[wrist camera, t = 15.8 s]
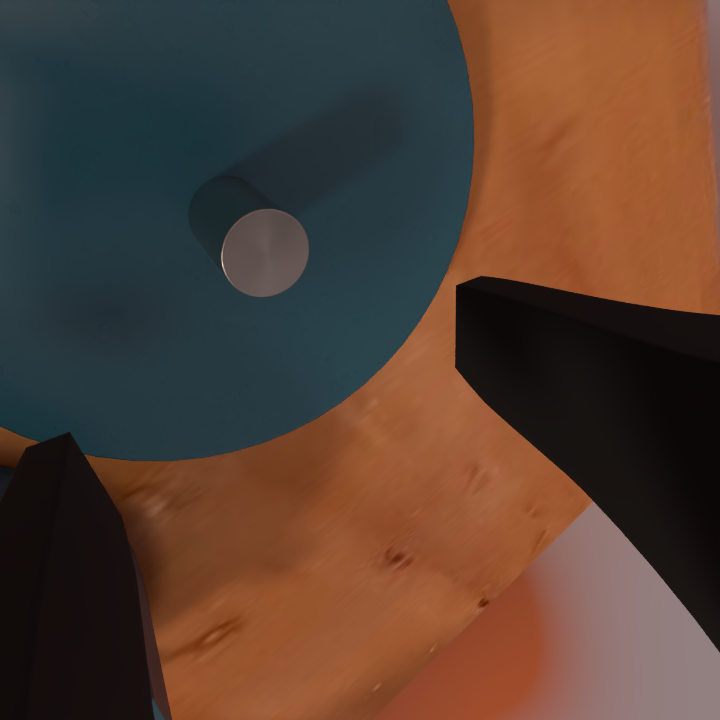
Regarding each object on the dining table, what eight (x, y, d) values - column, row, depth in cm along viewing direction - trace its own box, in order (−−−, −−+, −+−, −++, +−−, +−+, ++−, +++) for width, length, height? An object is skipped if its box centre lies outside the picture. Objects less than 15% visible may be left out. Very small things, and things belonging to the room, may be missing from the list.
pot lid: (194, -493, 10) (283, -770, 7) (519, 198, 23) (608, 231, 20) (-438, 220, 11) (-668, 320, 7) (227, 502, 24) (261, 587, 20)
